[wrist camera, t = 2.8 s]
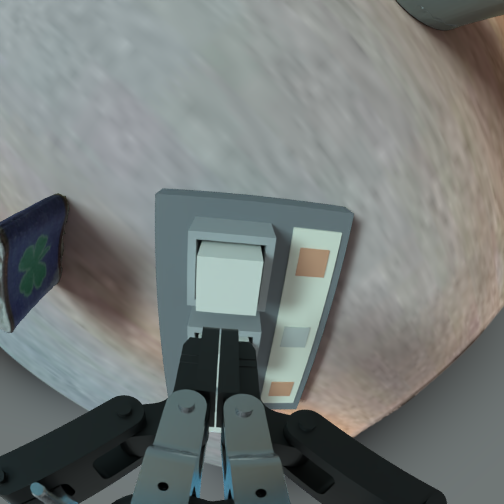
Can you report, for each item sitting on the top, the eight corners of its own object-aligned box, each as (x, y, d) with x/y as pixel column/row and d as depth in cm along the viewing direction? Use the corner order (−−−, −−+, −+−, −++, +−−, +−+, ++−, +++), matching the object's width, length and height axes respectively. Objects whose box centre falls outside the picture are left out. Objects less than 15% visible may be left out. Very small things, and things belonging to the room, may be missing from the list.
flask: (61, 285, 23) (2, 354, 13) (40, 274, 23) (-22, 335, 13) (72, 197, 20) (-14, 244, 10) (48, 187, 20) (-39, 227, 10)
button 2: (203, 236, 18) (196, 255, 15) (259, 241, 18) (263, 261, 16) (201, 286, 19) (195, 310, 17) (253, 290, 20) (255, 315, 17)
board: (162, 188, 20) (141, 204, 16) (344, 206, 21) (370, 226, 17) (171, 388, 29) (164, 423, 24) (293, 396, 30) (300, 430, 25)
